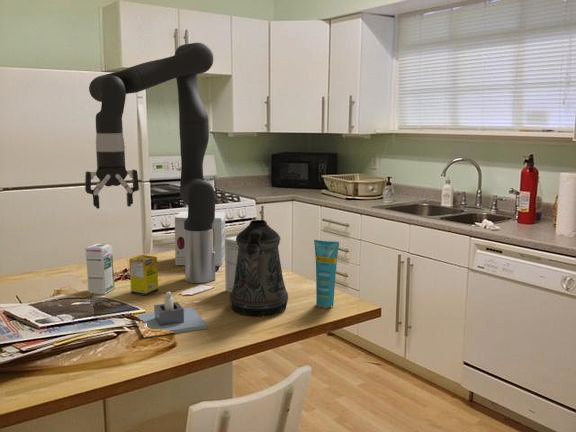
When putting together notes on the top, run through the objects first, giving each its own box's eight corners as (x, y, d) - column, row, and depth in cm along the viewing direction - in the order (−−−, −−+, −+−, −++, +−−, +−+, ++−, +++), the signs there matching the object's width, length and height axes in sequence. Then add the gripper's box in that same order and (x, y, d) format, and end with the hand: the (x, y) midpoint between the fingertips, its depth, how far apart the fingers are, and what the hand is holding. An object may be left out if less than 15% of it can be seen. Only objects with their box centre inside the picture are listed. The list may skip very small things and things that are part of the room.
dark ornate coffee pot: (276, 295, 165) (277, 214, 160) (300, 317, 147) (301, 226, 142) (223, 301, 159) (222, 217, 155) (241, 324, 141) (240, 230, 137)
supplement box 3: (267, 290, 169) (267, 237, 166) (245, 297, 163) (245, 242, 160) (246, 284, 176) (246, 233, 173) (224, 290, 169) (223, 237, 166)
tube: (310, 306, 155) (311, 241, 152) (314, 301, 160) (316, 237, 156) (336, 309, 153) (337, 243, 149) (339, 304, 157) (341, 239, 154)
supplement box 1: (158, 290, 168) (157, 256, 166) (146, 296, 163) (144, 261, 161) (143, 288, 171) (142, 254, 169) (130, 293, 165) (128, 258, 163)
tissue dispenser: (177, 314, 145) (177, 301, 145) (184, 322, 140) (183, 309, 139) (154, 317, 143) (154, 305, 142) (159, 326, 137) (159, 312, 136)
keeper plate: (192, 310, 151) (191, 281, 149) (207, 328, 138) (206, 296, 137) (133, 319, 144) (132, 288, 143) (143, 338, 132) (141, 305, 130)
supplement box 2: (174, 266, 196) (173, 217, 193) (181, 257, 209) (180, 210, 206) (222, 266, 196) (221, 217, 193) (226, 257, 209) (225, 211, 206)
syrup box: (105, 294, 164) (102, 248, 161) (87, 293, 165) (84, 247, 162) (115, 289, 169) (112, 243, 167) (97, 287, 170) (95, 242, 168)
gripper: (134, 148, 157) (136, 203, 160) (81, 149, 151) (85, 206, 154) (139, 149, 151) (141, 207, 153) (84, 151, 144) (88, 211, 147)
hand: (113, 207), depth 154 cm, fingers open, 8 cm apart
